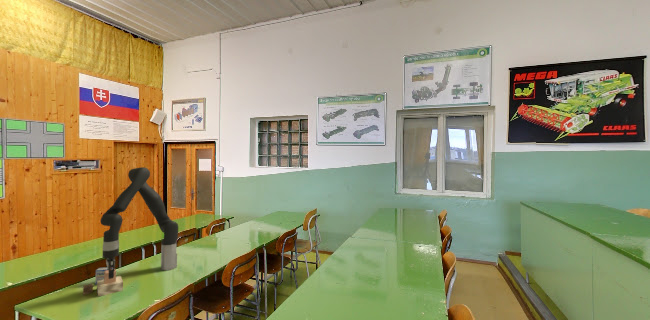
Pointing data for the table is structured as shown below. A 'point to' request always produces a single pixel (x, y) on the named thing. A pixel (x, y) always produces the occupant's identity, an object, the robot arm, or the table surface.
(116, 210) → the robot arm
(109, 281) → the terracotta block
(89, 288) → the walnut block
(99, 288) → the birch block
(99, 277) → the medicine box
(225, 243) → the table surface
